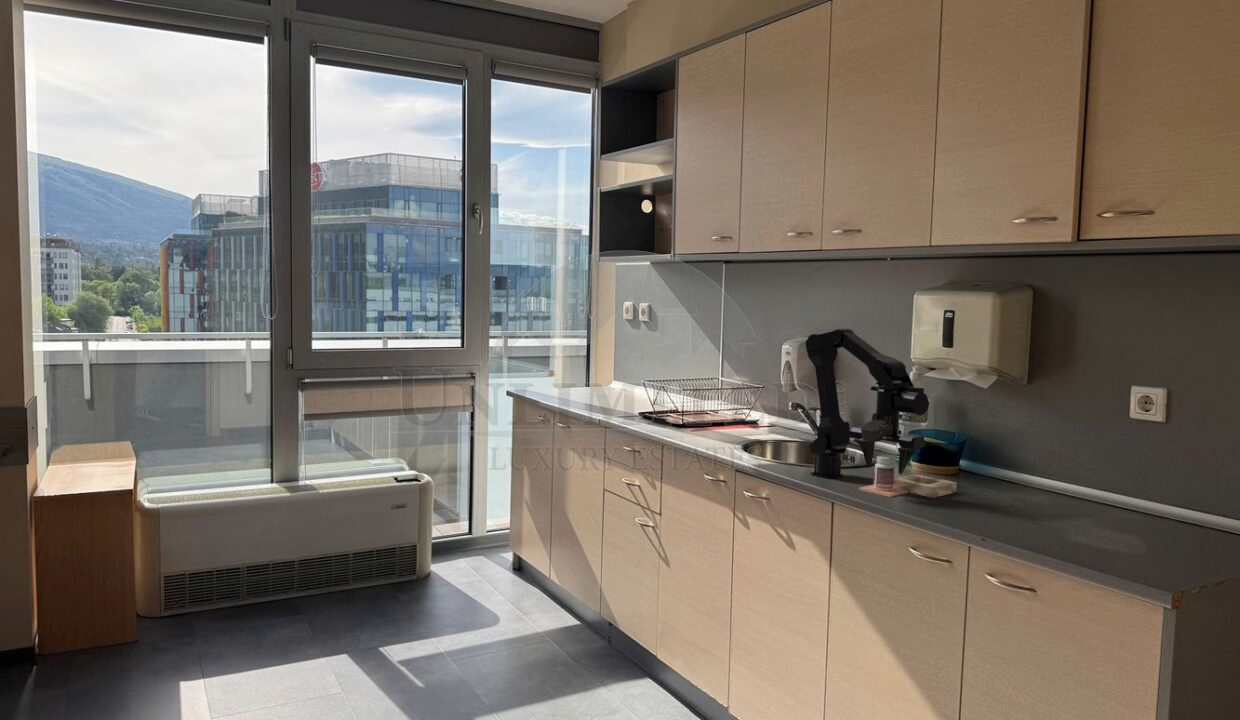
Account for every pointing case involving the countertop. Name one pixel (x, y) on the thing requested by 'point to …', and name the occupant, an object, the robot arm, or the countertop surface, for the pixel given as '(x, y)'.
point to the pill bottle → (884, 473)
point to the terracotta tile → (885, 493)
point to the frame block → (924, 485)
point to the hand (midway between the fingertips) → (884, 470)
